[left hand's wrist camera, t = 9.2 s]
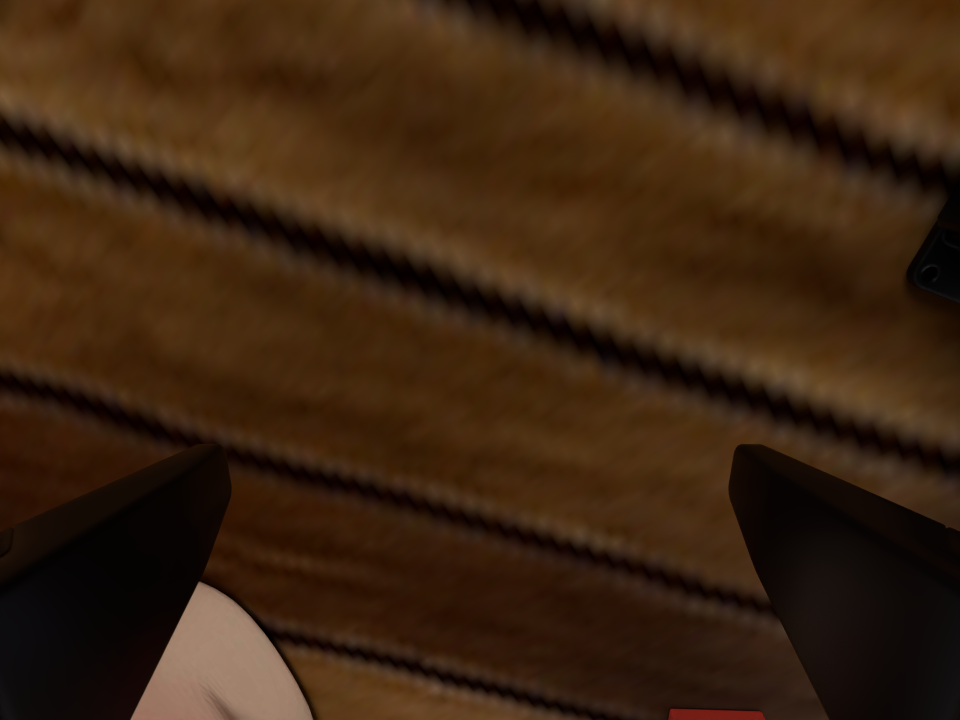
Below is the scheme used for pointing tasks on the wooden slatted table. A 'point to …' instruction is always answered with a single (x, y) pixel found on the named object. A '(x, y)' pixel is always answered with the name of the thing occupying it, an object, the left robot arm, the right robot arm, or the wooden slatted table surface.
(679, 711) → the block
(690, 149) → the wooden slatted table surface
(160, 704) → the anatomical model
